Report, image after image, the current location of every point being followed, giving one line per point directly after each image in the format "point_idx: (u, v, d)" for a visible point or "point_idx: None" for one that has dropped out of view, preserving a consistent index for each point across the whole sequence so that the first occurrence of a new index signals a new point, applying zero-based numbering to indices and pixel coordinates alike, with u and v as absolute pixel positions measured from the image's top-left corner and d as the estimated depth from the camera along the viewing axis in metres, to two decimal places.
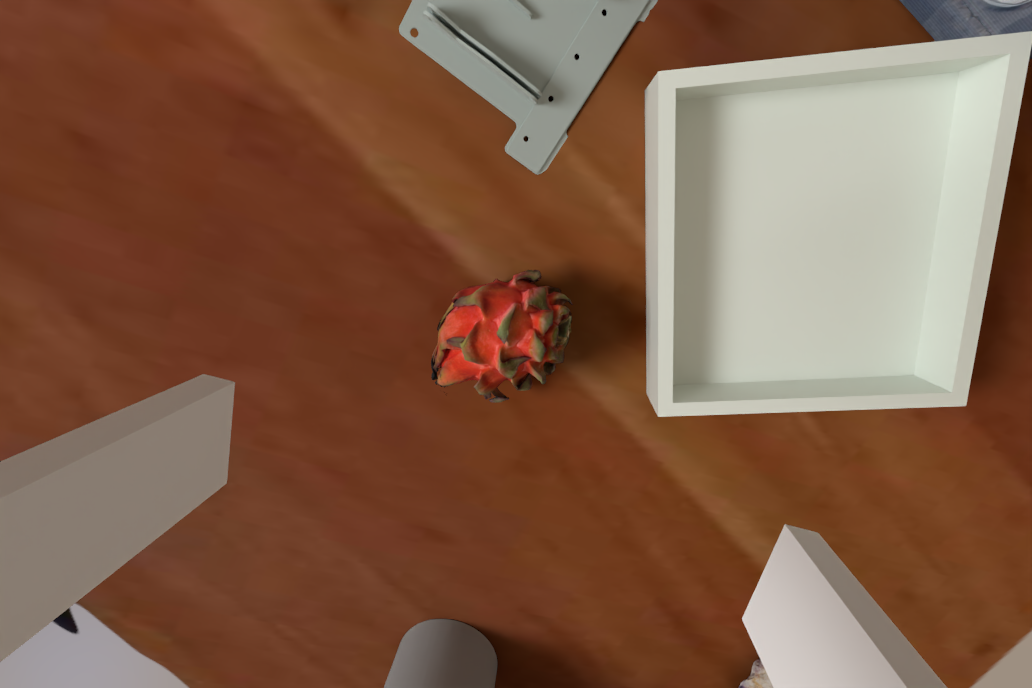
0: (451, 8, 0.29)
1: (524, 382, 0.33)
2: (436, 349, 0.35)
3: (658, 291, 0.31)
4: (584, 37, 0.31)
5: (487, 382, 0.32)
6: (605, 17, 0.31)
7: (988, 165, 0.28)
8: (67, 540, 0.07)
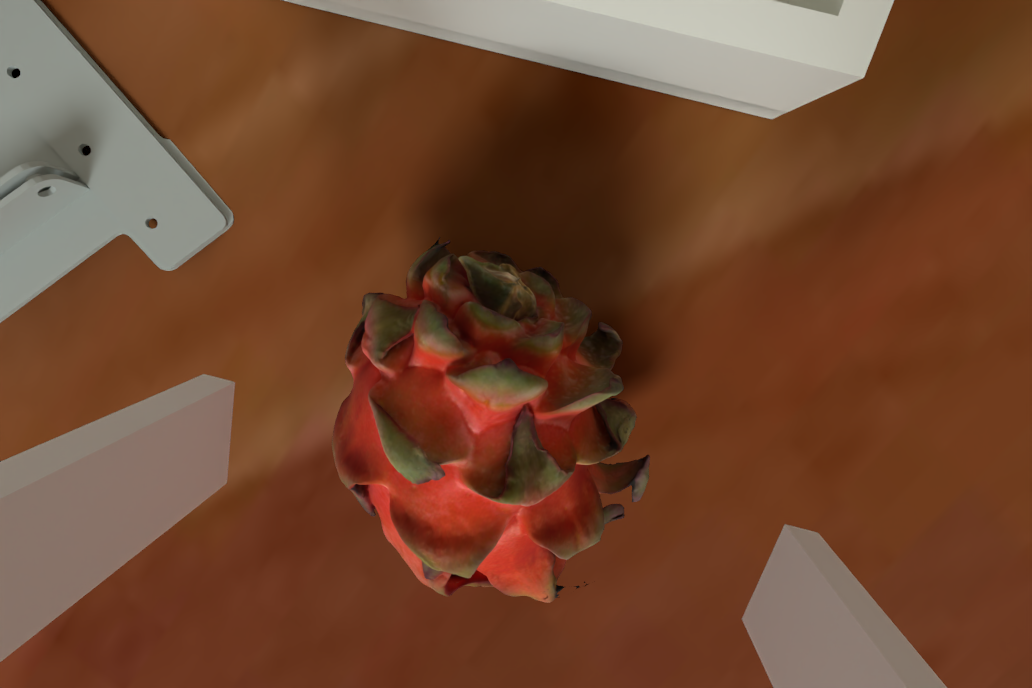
0: None
1: (609, 423, 0.13)
2: None
3: None
4: None
5: (567, 523, 0.12)
6: None
7: None
8: (66, 541, 0.07)
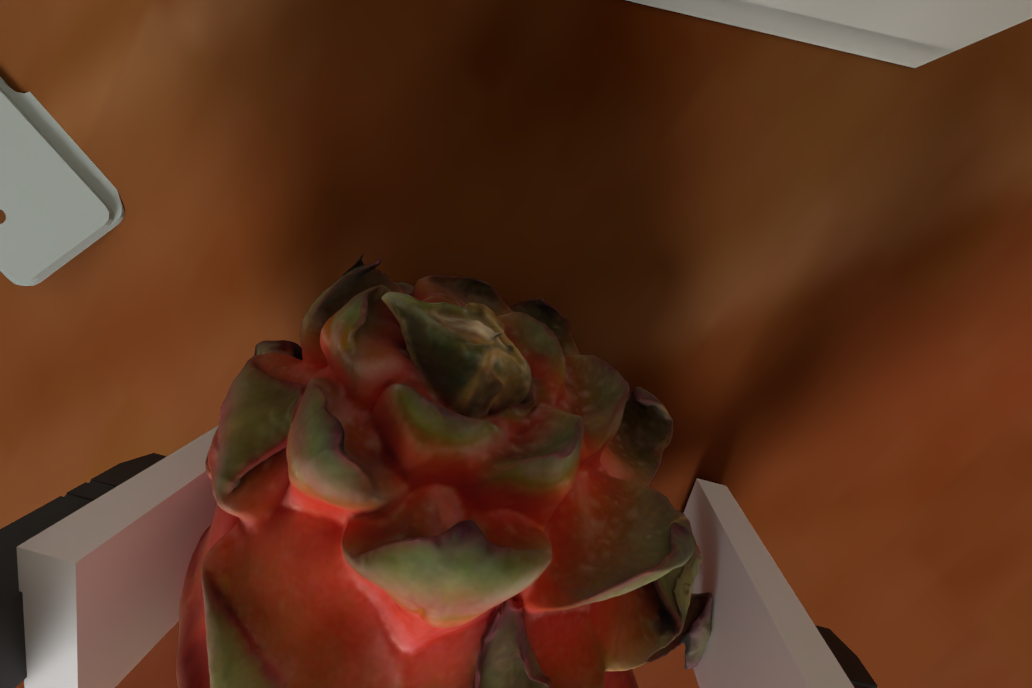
0: None
1: None
2: None
3: None
4: None
5: None
6: None
7: None
8: None
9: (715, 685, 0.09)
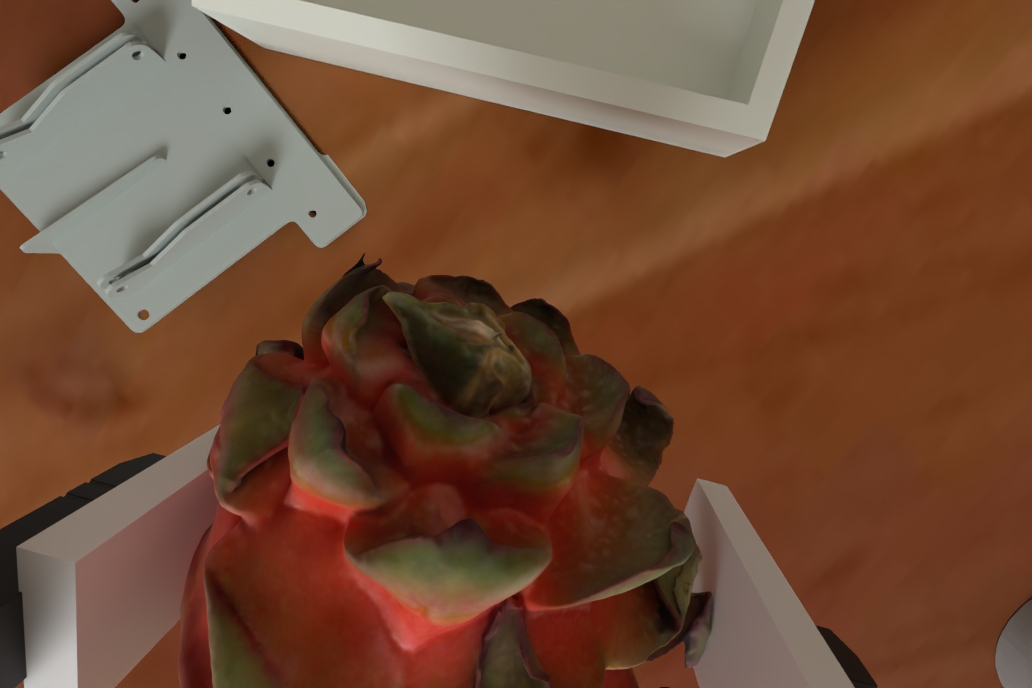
0: (129, 258, 0.23)
1: (659, 575, 0.07)
2: None
3: (526, 83, 0.17)
4: (207, 92, 0.22)
5: None
6: (188, 55, 0.22)
7: None
8: None
9: (715, 685, 0.09)
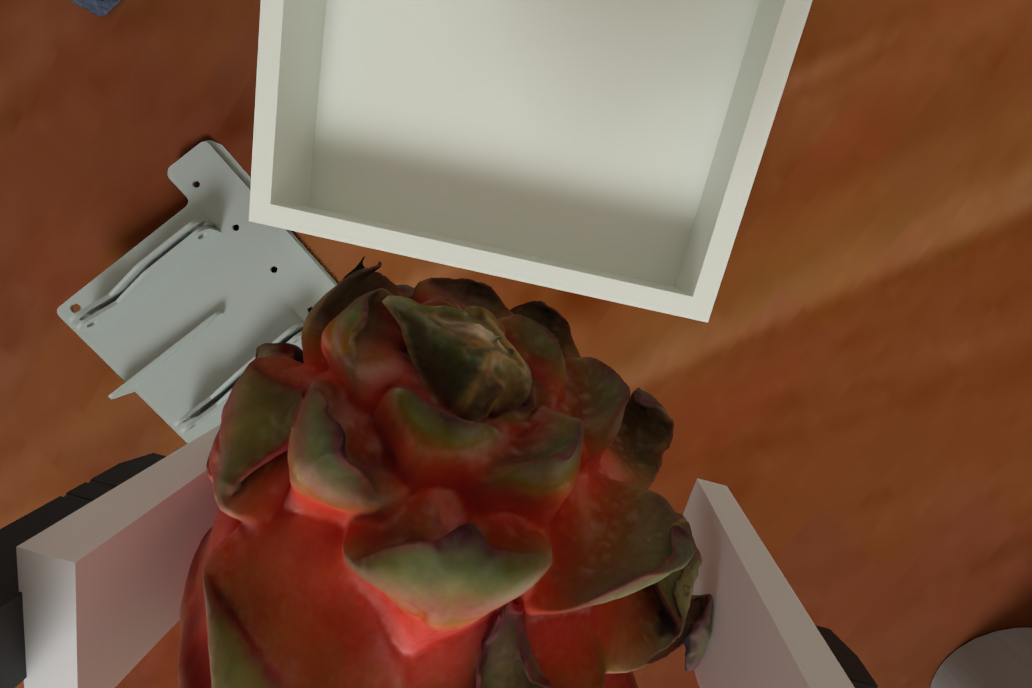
0: (195, 395, 0.27)
1: None
2: None
3: (518, 279, 0.22)
4: (256, 255, 0.27)
5: None
6: (240, 226, 0.26)
7: None
8: None
9: (715, 685, 0.09)
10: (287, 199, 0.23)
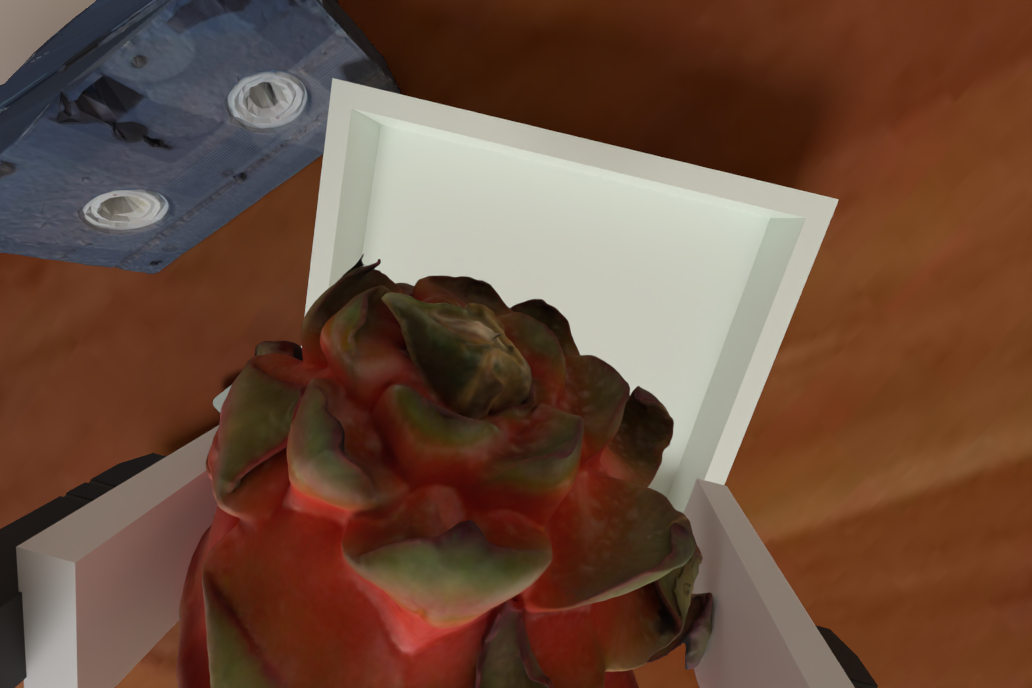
0: None
1: None
2: None
3: None
4: None
5: None
6: None
7: (482, 139, 0.21)
8: None
9: (715, 685, 0.09)
10: None
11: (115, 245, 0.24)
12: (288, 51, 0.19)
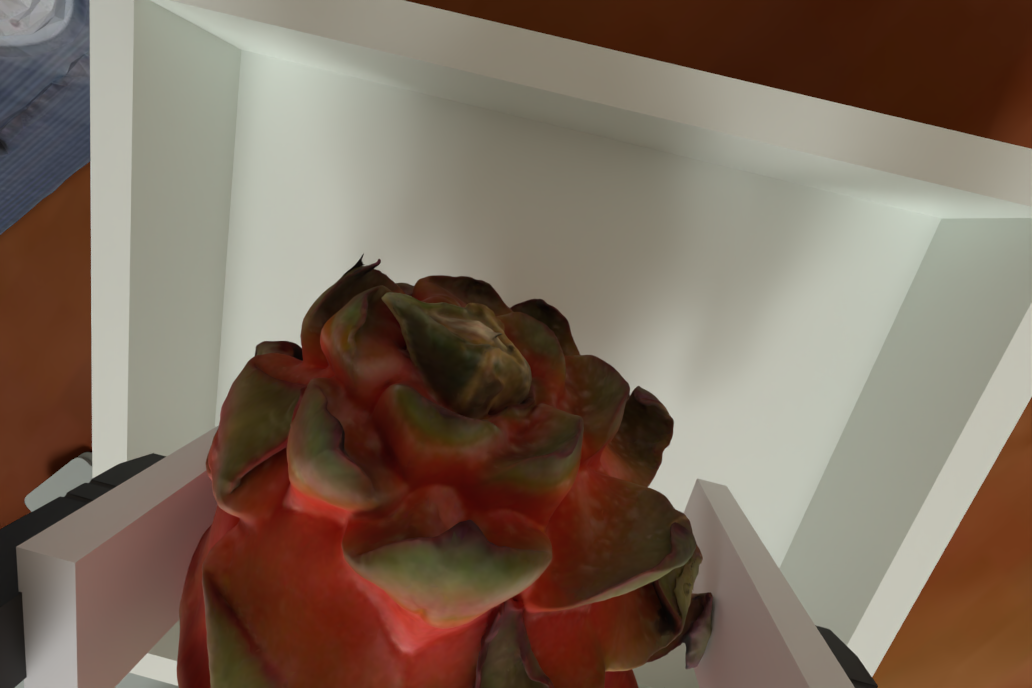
0: None
1: None
2: None
3: None
4: None
5: None
6: None
7: (403, 57, 0.10)
8: None
9: (715, 685, 0.09)
10: None
11: None
12: None
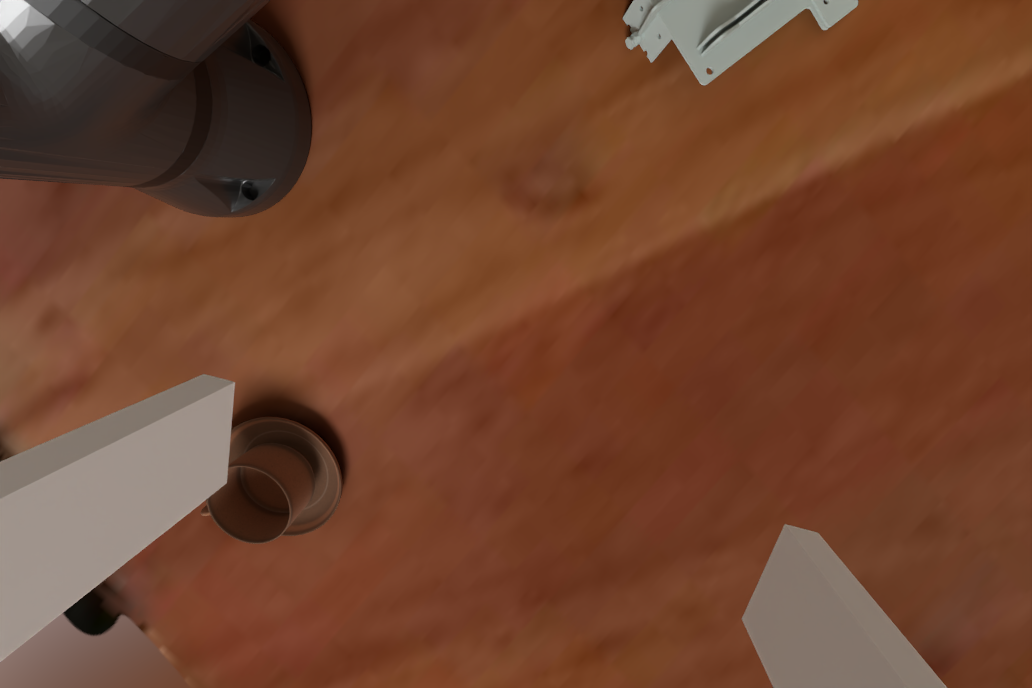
0: (701, 28, 0.31)
1: None
2: None
3: None
4: None
5: None
6: None
7: None
8: (66, 540, 0.07)
9: None
10: None
11: None
12: None
